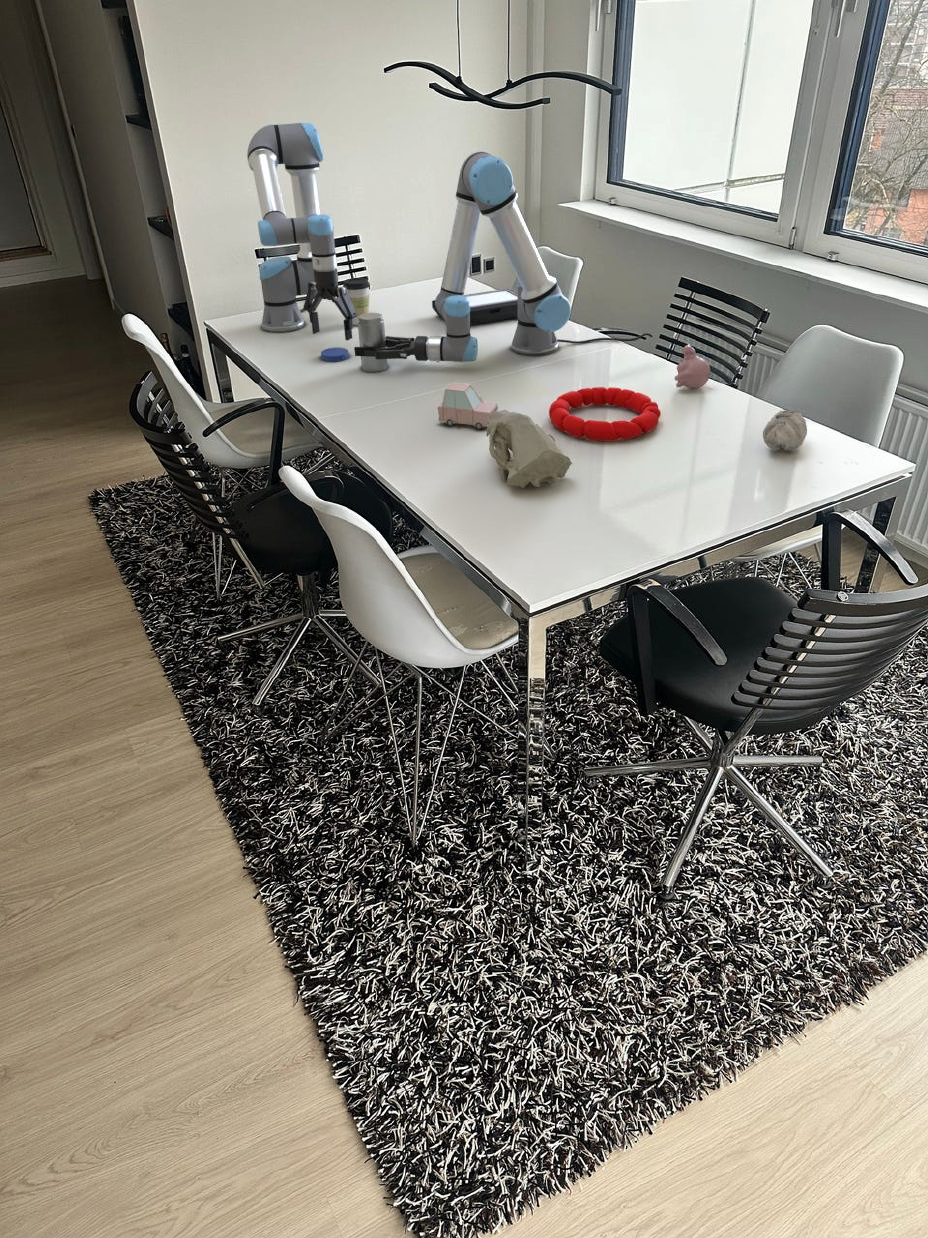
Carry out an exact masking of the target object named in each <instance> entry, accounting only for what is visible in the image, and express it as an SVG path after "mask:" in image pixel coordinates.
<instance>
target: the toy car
mask: <svg viewBox="0 0 928 1238" xmlns="http://www.w3.org/2000/svg"><path fill="white" fill-rule="evenodd" d="M498 409H499V404H498V403H497V402H490V401H489V402H487V401H483V397H481V396H480V395H479V394H478V393H477V391H476V390H475V389H474V386H472V384H469V383H459V382H451V383H450V384H449V385H448V386H447V387H446V388H445V389H444V394H443V399H442V403H440V404H439V405H438V406H437V413H438V421H439V422H443V423H446V425H447V426H448V427H452V426H454V425H455V424H461V425H469V426H473V427H475V429H476V430H479V431H480V430H481V429H483V428H485V427H486V428H487V423H488V422H490V414H491V413H492V412H496V411H499V410H498Z"/></svg>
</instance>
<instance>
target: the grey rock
mask: <svg viewBox="0 0 928 1238" xmlns="http://www.w3.org/2000/svg"><path fill="white" fill-rule="evenodd" d="M485 436H486V438H487V437H489V438H488V440H489V444H488V445H489V446H488V450H489V454H490V456H491V457H492V458H493V459H494V460H495V462H496V464H497V466H499V468H500V470H501V471H502V472H501V478H502V479H507V480H506V484H507V486H517V487H518V486H519V488H523V489H524V488H526V486H527V485H529V483H531V485H533V486H534V487H536V488H540V485H541V484H542V482H544V483H549V484H550V485H553V484H555V483H556V482H557V480H561V479H563V478H565V476H566V474H567V472H568V471H569V469H570V467H571V466H572V464H573V462H572V461H571V458H570V457H568V456H567V455H565V453H564V451H562V449H561V448H560V446H559V444H557V443H556V439H555V438H554V436H553V435H551V434H550V433H548V432H547V431H546V430H545V429H544V428H542V427H541V426H539V425H538V424H537V423H536V424H535V422H534V421H533V419H532V418H531V417H530V416H529V415H527V414H524V413H519V412H515V411H509V410H507V409H502V410H500V411H499V410H497V411H496V412H492V413H491V414H490V422H488V423H487V427H486V435H485ZM511 453H512V454H511ZM511 455H512V457H513V458H512V460H511ZM507 474H508V475H507Z"/></svg>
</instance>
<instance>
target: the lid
mask: <svg viewBox="0 0 928 1238" xmlns="http://www.w3.org/2000/svg"><path fill="white" fill-rule="evenodd" d="M349 357H350V353H349V349H348V348H345V347H329V348H325V349H323V350H321V351H320V358H321V360H322V361H324V362H329V363H334V362H335V363H336V362H342V361H346V360H347V359H349Z"/></svg>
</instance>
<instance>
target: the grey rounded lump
mask: <svg viewBox="0 0 928 1238" xmlns="http://www.w3.org/2000/svg"><path fill="white" fill-rule="evenodd" d="M807 435H808V426H807V421H806V419H805V418H804V416H803V414H801V412H800V411H799V410H797V411H793V410H779V411H778V412H777V413H775V414H774V415H773V416H772V417H771V419H770V420H769V421H767V423H766V425H765V427H764V428H763V430H762V439H763V442H764V443H765V445H766V446H767V447H768V448H769V449H771V450H774V451H779V450H781V449H783V450H784V451H794V450H797V449H799V448H801V446H802V445H803V444H804V442H805V440H806V437H807Z"/></svg>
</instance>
